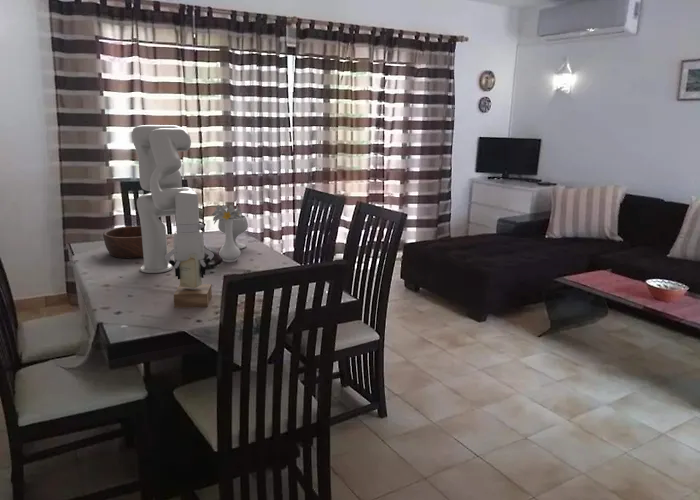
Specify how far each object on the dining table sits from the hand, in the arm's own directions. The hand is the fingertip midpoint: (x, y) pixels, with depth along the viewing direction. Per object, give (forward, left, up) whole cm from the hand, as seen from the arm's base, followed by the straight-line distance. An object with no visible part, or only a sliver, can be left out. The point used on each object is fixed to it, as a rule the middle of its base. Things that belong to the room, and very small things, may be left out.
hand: (190, 277), depth 192 cm
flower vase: (-51, +16, -9) cm, 54 cm away
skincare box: (0, 0, -3) cm, 3 cm away
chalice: (-74, +20, -9) cm, 77 cm away
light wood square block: (+1, +1, -9) cm, 9 cm away
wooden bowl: (-72, -25, -9) cm, 77 cm away
